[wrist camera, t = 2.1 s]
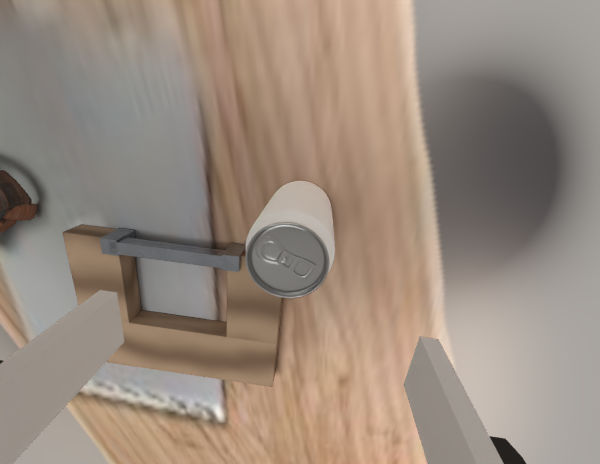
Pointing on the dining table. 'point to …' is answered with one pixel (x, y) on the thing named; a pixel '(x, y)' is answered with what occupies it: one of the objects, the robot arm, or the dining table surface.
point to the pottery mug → (14, 202)
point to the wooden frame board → (181, 319)
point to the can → (292, 241)
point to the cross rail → (171, 251)
